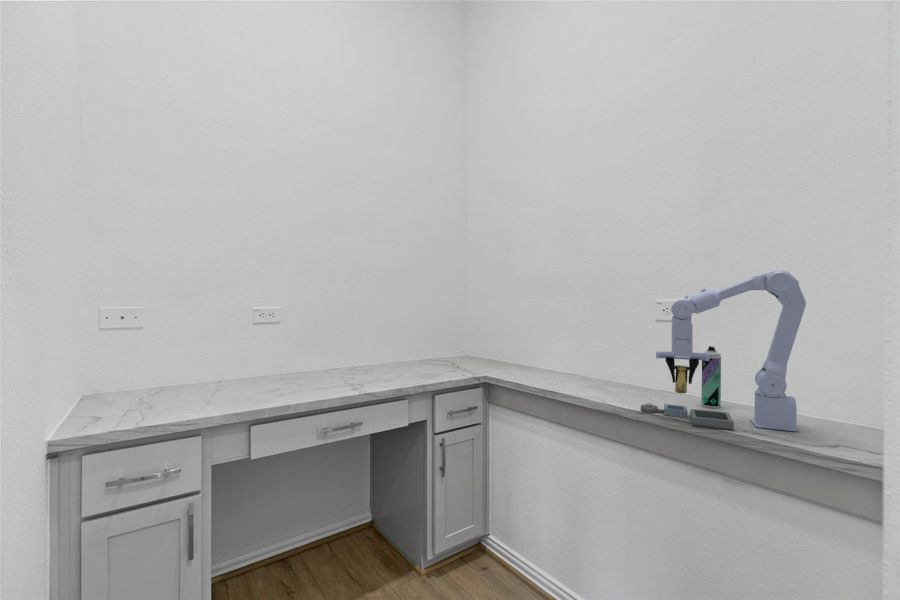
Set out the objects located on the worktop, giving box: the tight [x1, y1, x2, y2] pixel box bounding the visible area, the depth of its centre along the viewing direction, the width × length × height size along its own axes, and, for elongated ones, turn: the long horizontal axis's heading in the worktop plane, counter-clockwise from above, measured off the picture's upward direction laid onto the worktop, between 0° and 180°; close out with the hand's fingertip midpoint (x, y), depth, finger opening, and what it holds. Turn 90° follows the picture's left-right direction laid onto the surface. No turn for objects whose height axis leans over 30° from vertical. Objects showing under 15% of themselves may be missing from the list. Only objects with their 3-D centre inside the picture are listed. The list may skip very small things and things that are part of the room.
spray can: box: [701, 345, 722, 410], centre depth 148 cm, size 6×6×20 cm
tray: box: [689, 408, 735, 431], centre depth 130 cm, size 10×10×2 cm
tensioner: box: [640, 402, 689, 418], centre depth 141 cm, size 13×6×2 cm, turn 65°
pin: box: [674, 364, 689, 394], centre depth 138 cm, size 4×4×8 cm
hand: (681, 382), depth 138 cm, fingers closed on pin, 4 cm apart
